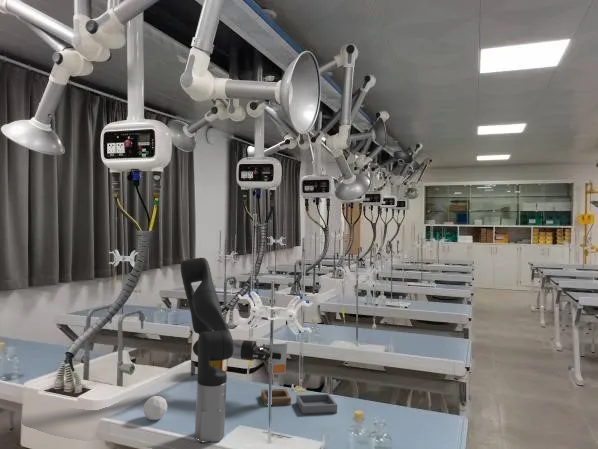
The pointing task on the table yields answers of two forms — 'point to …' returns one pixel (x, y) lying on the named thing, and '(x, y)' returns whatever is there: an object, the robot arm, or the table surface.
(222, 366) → the baking soda box
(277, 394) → the socket block
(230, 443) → the table surface
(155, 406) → the geometric ball
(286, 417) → the table surface
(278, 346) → the skincare box
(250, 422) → the table surface
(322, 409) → the tray
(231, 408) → the table surface
